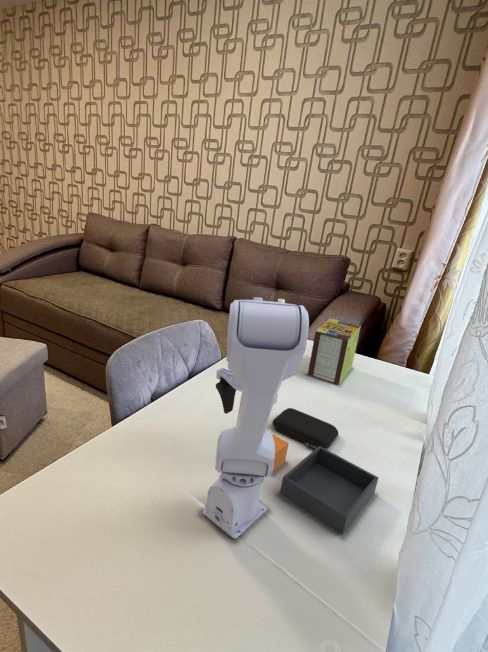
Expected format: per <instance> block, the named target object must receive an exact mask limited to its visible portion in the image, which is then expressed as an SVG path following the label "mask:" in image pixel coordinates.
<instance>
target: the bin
mask: <svg viewBox="0 0 488 652" xmlns="http://www.w3.org/2000/svg"><path fill="white" fill-rule="evenodd" d="M378 481H379V476H377V475H375V474H373V473H371V472H370V471H367V470H365V469H364V468H362V467H361V466H358V465H356V464H355V463H353V462H351V461H349V460H347V459H345V458H344V457H341V456H339V455H337V454H336V453H334V452H332V451H330V450H328V449H324V448H322V447H321V446H318V447H317V448H316V449H315V448H314V450H313V451H311V453H309V454H308V455H307V456H306V457H304V458H303V459H302V460H301V461H300V462H298V463H297V465H295V466H294V467H293V468H291V470H290V471H289V472H287V473H286V474H285V475H284V476H283V477H282V480H281V486H280V493H279V494H280V495H281V496H283V497H284V498H286V499H287V500H289V501H291V502H292V503H294V504H295V505H297V506H298V507H300V508H301V509H303V510H304V511H306V512H307V513H309V514H310V515H312V516H313V517H315V518H316V519H318V520H319V521H321V522H322V523H324V524H325V525H327V526H328V527H330V528H331V529H333V530H334V531H336V532H337V533H339V534H340V535H344V533H345V532H346V531H347V529H348V528H349V527H350V526H351V525H352V523H353V522H354V520H356V518H357V516H358V515H359V514H360V513H361V511H363V509H364V508H365V506H366V505H367V504H368V502H369V501H370V500H371V498H372V497H373V495H374V494H375V491H376V488H377V485H378Z"/></svg>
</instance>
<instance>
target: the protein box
mask: <svg viewBox="0 0 488 652" xmlns="http://www.w3.org/2000/svg"><path fill="white" fill-rule="evenodd" d="M361 327H362V326H361V325H360V324H356V323H352V322H349V321H348V322H347V321H343V320H340V319H336V318H329V319H328V320H326V321H325V322H324V323H322V324H321V325H320V326H319V327H318V328H316V330H315V332H314V337H313V342H312V347H311V348H312V349H311V355H310V360H309V364H308V365H309V366H308V373H307V376H310V377H313V378H316V379H319V380H322V381H326V382H329V383H332V384H335V385H338V386H339V385H340V384H341V383H342V381H343V380H344V379H345V377H346V376H347V374H348V373H349V372H350V371H351V370H352V367H353V362H354V360H355V359H354V358H355V355H356V350H357V345H358V342H359V341H358V340H359V335H360V331H361Z"/></svg>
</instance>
